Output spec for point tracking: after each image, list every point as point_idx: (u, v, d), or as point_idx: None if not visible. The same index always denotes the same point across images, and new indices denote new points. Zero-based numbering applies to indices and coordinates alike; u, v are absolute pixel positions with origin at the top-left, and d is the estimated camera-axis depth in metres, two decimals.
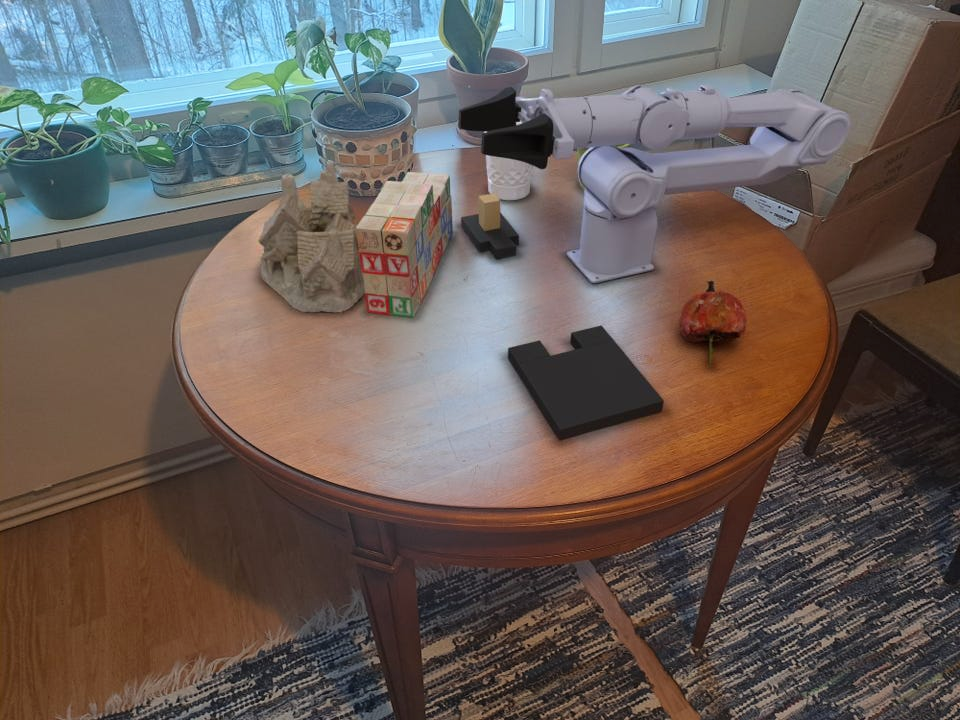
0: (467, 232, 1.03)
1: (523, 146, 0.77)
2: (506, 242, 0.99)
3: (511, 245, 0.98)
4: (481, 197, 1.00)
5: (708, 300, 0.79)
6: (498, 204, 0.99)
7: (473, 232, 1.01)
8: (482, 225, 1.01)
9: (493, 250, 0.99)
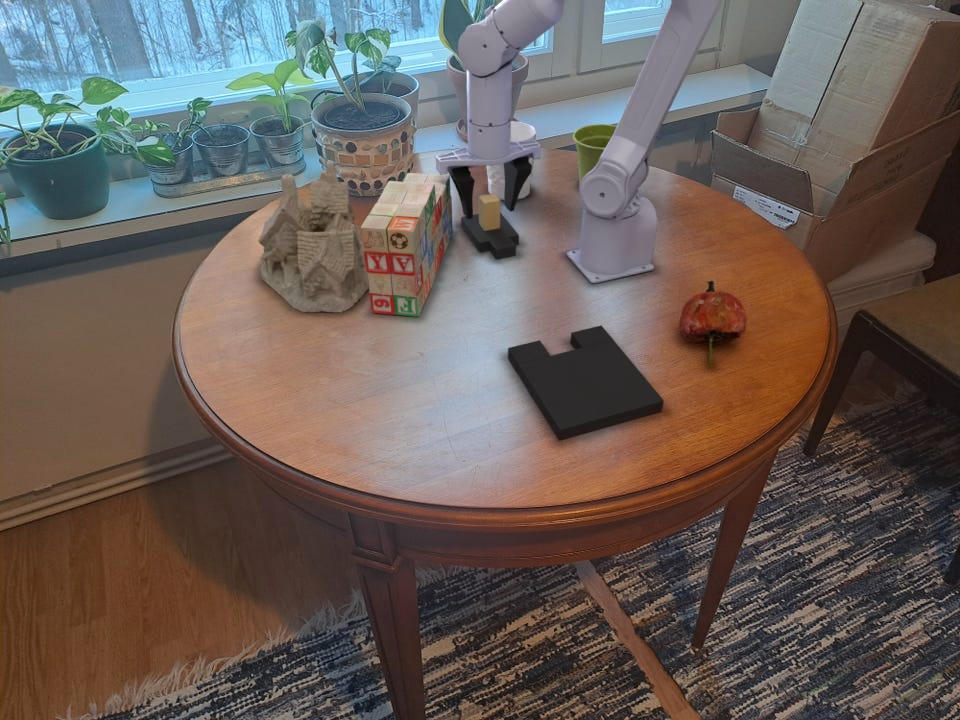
0: (467, 232, 1.03)
1: None
2: (506, 242, 0.99)
3: (511, 245, 0.98)
4: (481, 197, 1.00)
5: (708, 300, 0.79)
6: (498, 204, 0.99)
7: (473, 232, 1.01)
8: (482, 225, 1.01)
9: (493, 250, 0.99)
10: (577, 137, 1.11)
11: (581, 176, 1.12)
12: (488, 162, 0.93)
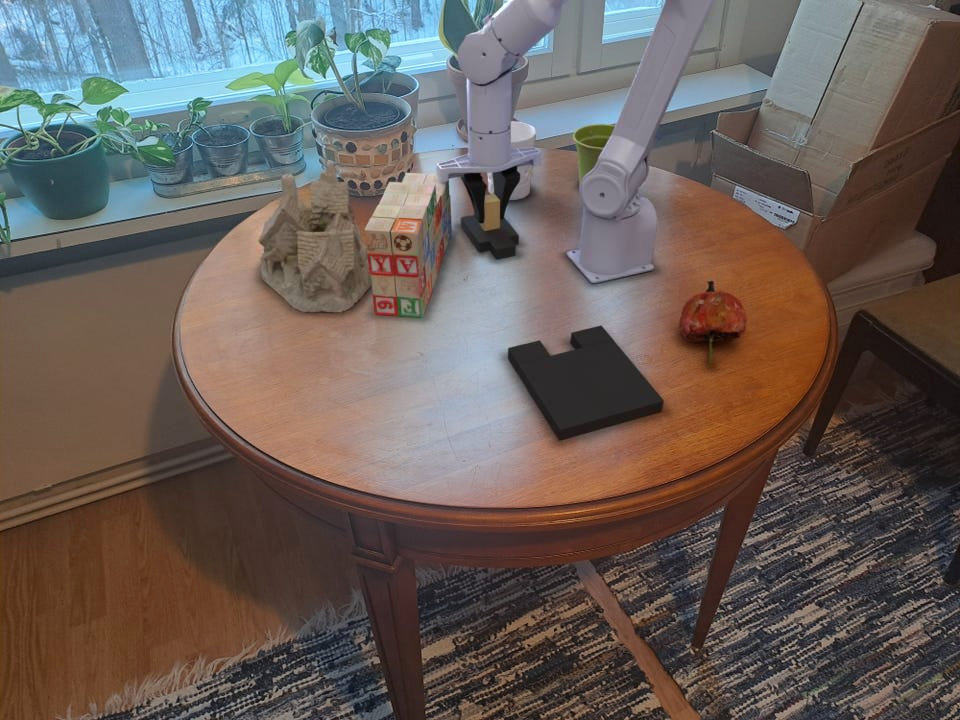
0: (467, 232, 1.03)
1: None
2: (506, 242, 0.99)
3: (511, 245, 0.98)
4: None
5: (708, 300, 0.79)
6: (497, 204, 0.99)
7: (473, 232, 1.01)
8: (482, 225, 1.01)
9: (493, 250, 0.98)
10: (577, 137, 1.11)
11: (581, 176, 1.12)
12: (488, 169, 0.94)
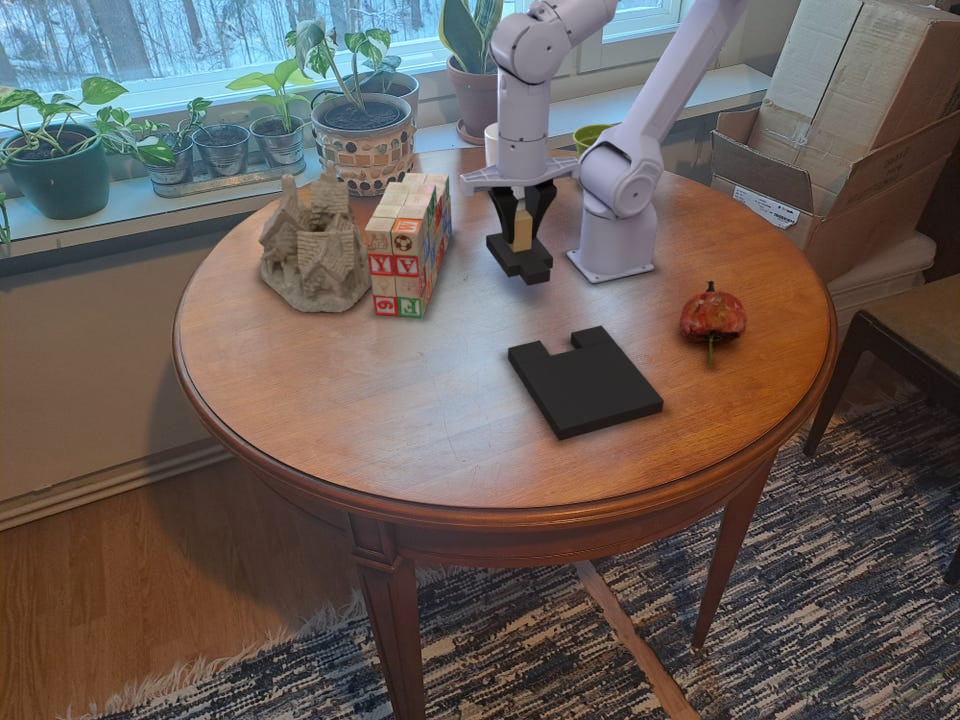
0: (493, 253, 0.90)
1: None
2: (539, 266, 0.85)
3: (545, 270, 0.85)
4: None
5: (708, 300, 0.79)
6: (529, 222, 0.86)
7: (500, 254, 0.88)
8: (511, 245, 0.88)
9: (524, 275, 0.85)
10: (577, 137, 1.11)
11: None
12: (521, 182, 0.80)
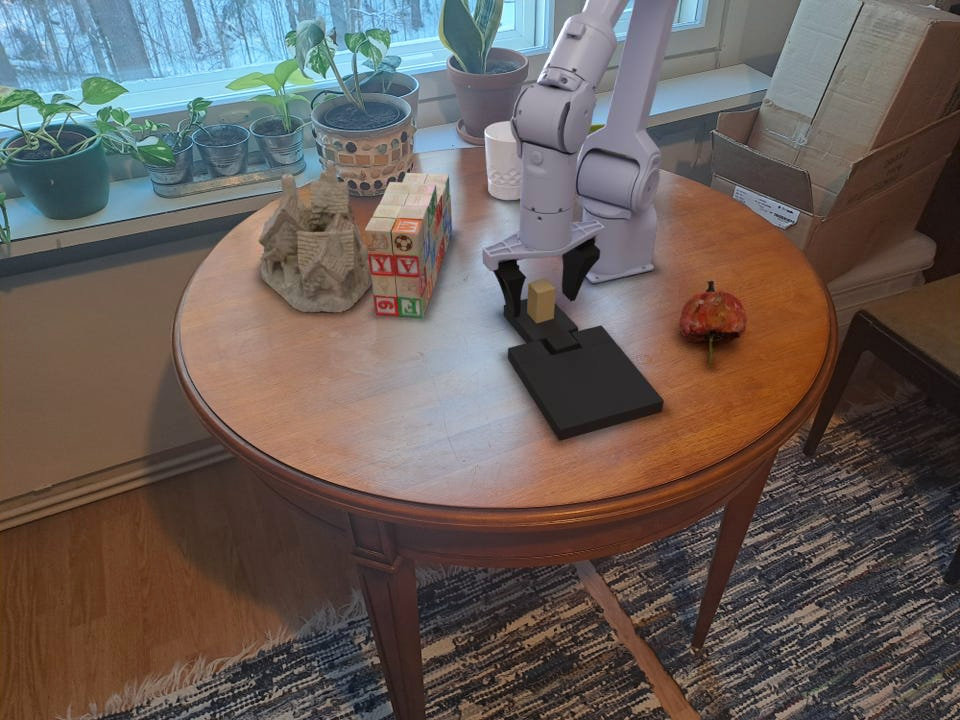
0: (513, 324, 0.86)
1: None
2: (566, 338, 0.82)
3: (573, 343, 0.81)
4: (532, 285, 0.83)
5: (708, 300, 0.79)
6: (553, 292, 0.82)
7: (523, 326, 0.84)
8: (533, 316, 0.85)
9: (551, 349, 0.82)
10: None
11: None
12: (548, 254, 0.76)
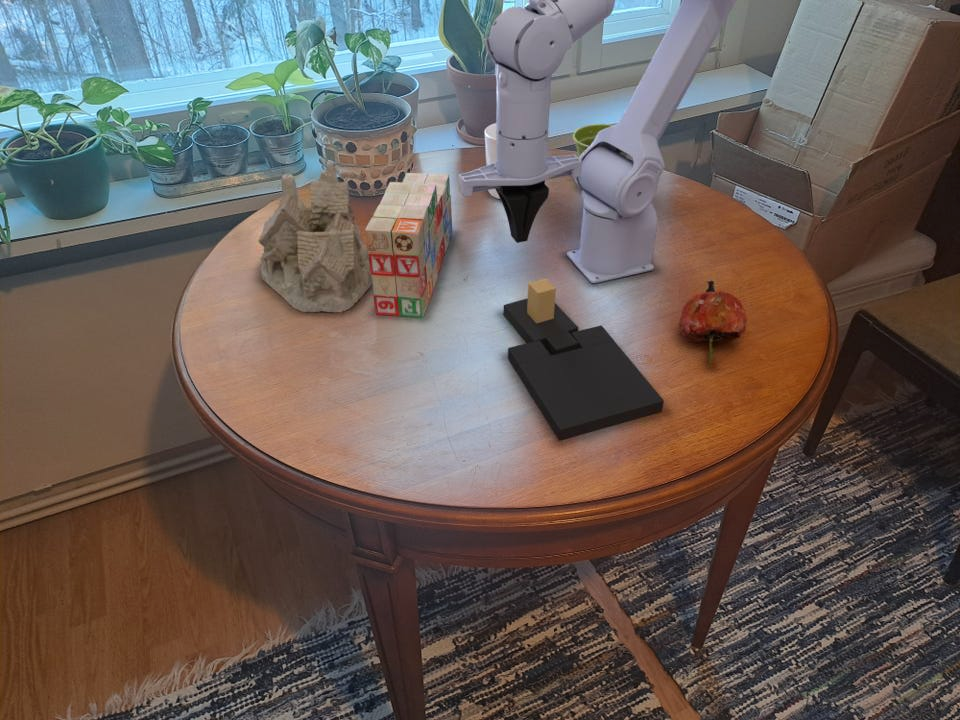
0: (513, 324, 0.86)
1: None
2: (566, 338, 0.82)
3: (573, 343, 0.81)
4: (532, 285, 0.83)
5: (708, 300, 0.79)
6: (553, 292, 0.82)
7: (523, 326, 0.84)
8: (533, 316, 0.85)
9: (551, 349, 0.82)
10: (577, 137, 1.11)
11: None
12: (521, 181, 0.78)
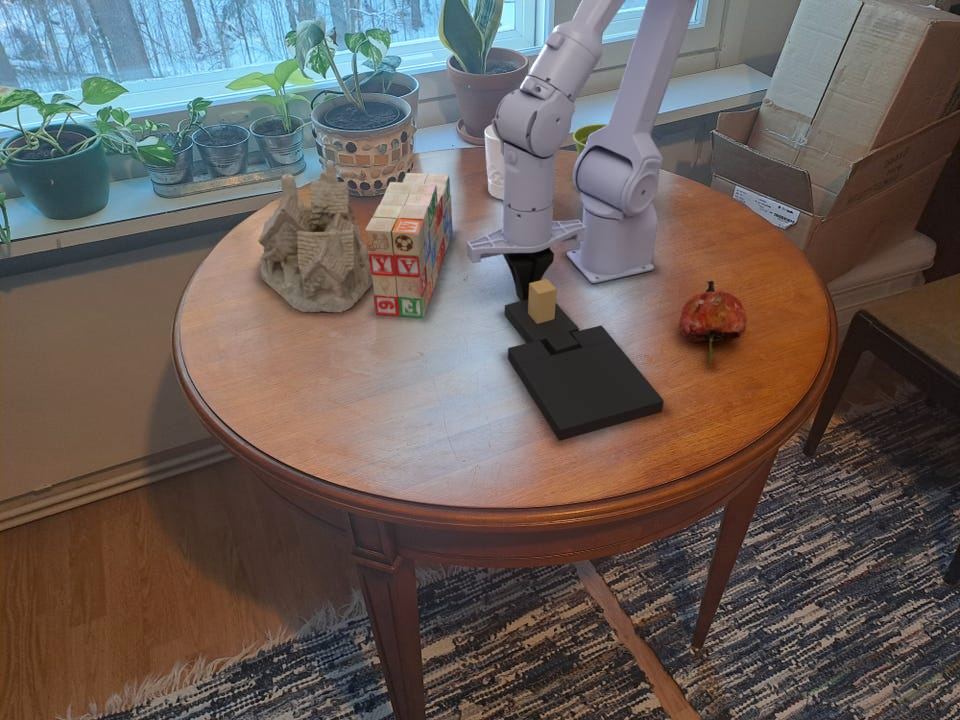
0: (514, 324, 0.86)
1: None
2: (566, 339, 0.82)
3: (573, 344, 0.81)
4: (533, 285, 0.83)
5: (708, 300, 0.79)
6: (553, 293, 0.82)
7: (524, 326, 0.84)
8: (534, 316, 0.84)
9: (551, 350, 0.82)
10: (577, 137, 1.11)
11: None
12: (527, 249, 0.82)
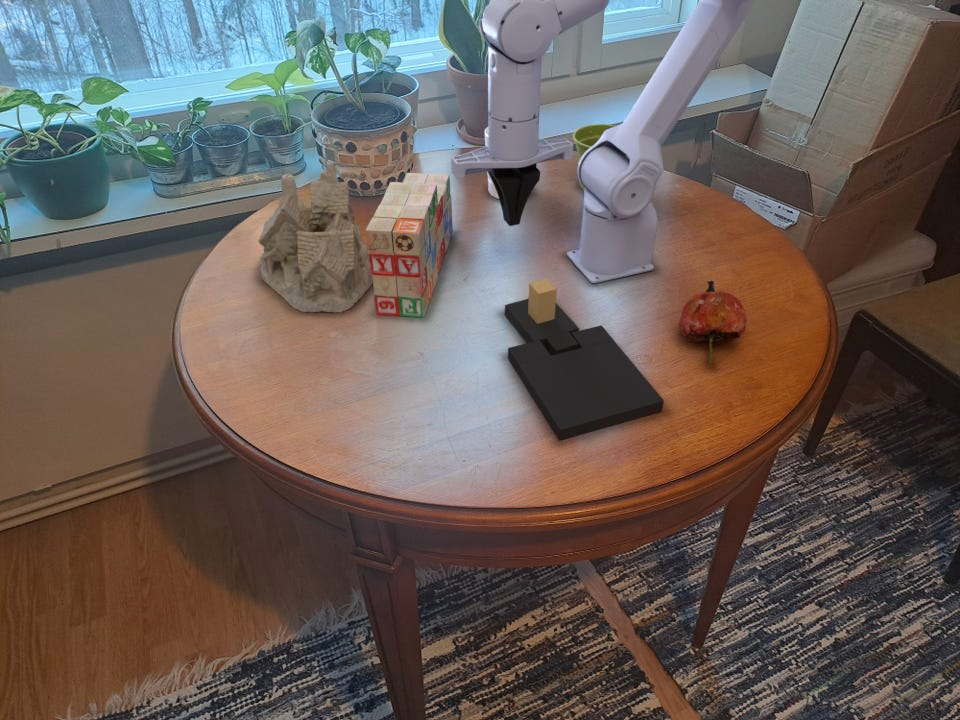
0: (514, 324, 0.86)
1: None
2: (566, 339, 0.82)
3: (573, 344, 0.81)
4: (533, 285, 0.83)
5: (708, 300, 0.79)
6: (553, 293, 0.82)
7: (524, 326, 0.84)
8: (534, 316, 0.84)
9: (551, 350, 0.82)
10: (577, 137, 1.11)
11: None
12: (513, 164, 0.79)
